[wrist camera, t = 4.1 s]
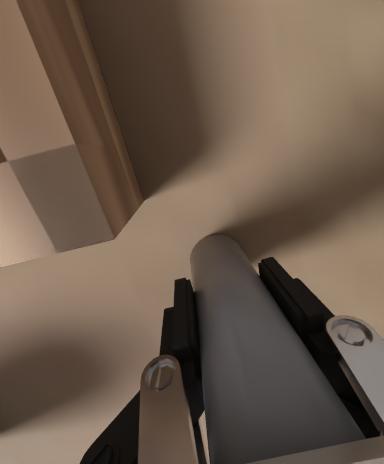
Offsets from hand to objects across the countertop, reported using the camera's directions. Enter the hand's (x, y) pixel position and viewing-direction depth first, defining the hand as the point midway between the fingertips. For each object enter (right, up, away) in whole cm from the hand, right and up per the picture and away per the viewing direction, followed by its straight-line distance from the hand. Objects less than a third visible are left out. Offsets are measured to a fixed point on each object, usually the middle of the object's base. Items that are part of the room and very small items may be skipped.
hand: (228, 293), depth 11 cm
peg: (0, +1, +4) cm, 4 cm away
